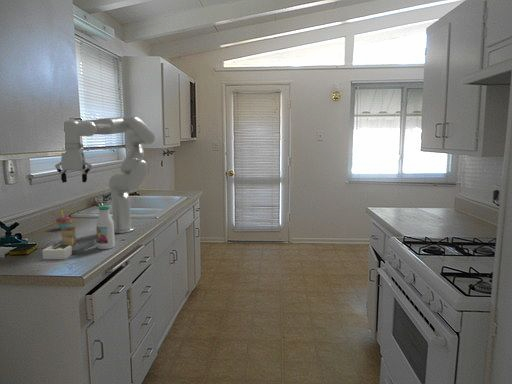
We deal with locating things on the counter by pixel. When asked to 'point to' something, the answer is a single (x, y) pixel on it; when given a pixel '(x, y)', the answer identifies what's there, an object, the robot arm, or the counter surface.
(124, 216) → the robot arm
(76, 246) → the rails
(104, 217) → the milk bottle
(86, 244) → the deck
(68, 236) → the slider
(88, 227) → the counter surface
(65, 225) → the cupcake
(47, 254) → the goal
